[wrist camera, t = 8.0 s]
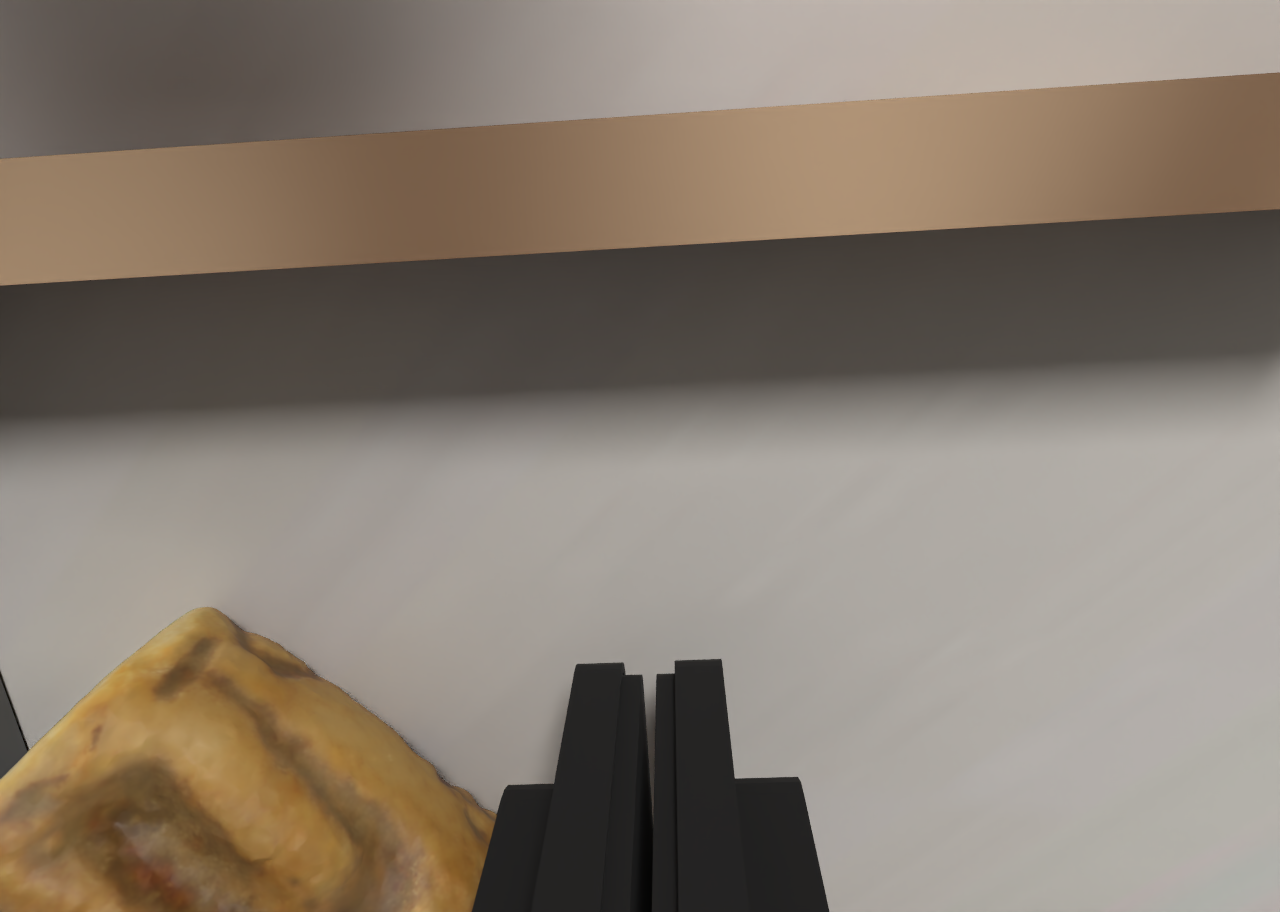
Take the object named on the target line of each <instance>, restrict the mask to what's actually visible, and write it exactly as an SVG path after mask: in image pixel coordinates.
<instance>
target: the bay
mask: <svg viewBox="0 0 1280 912" xmlns="http://www.w3.org/2000/svg"><path fill="white" fill-rule="evenodd" d="M1273 209H1280V73H1266V74H1251V75H1236V76H1222V77H1207V78H1192V79H1177V80H1162V81H1147V82H1133V83H1118V84H1103V85H1088V86H1073V87H1058V88H1044V89H1029V90H1014V91H999V92H984V93H969V94H954V95H940V96H925V97H910V98H895V99H880V100H865V101H851V102H836V103H821V104H806V105H791V106H776V107H762V108H747V109H732V110H717V111H702V112H687V113H672V114H658V115H643V116H628V117H613V118H598V119H583V120H569V121H554V122H539V123H524V124H509V125H494V126H479V127H465V128H450V129H435V130H420V131H405V132H390V133H376V134H361V135H346V136H331V137H316V138H301V139H287V140H272V141H257V142H242V143H227V144H212V145H198V146H183V147H168V148H153V149H138V150H123V151H108V152H94V153H79V154H64V155H49V156H34V157H19V158H5V159H0V285H17V284H34V283H51V282H67V281H84V280H101V279H118V278H134V277H151V276H168V275H185V274H201V273H218V272H235V271H252V270H268V269H285V268H302V267H319V266H335V265H352V264H369V263H386V262H402V261H419V260H436V259H453V258H469V257H486V256H503V255H520V254H536V253H553V252H570V251H587V250H603V249H620V248H637V247H654V246H670V245H687V244H704V243H721V242H737V241H754V240H771V239H788V238H804V237H821V236H838V235H855V234H871V233H888V232H905V231H922V230H938V229H955V228H972V227H989V226H1005V225H1022V224H1039V223H1056V222H1072V221H1089V220H1106V219H1123V218H1139V217H1156V216H1173V215H1190V214H1206V213H1223V212H1240V211H1257V210H1273ZM26 753H27V749H26V747H25V744H24V741H23V738H22V736H21V733H20V730H19V727H18V725H17V722H16V719H15V717H14V714H13V711H12V708H11V706H10V703H9V700H8V698H7V695H6V692H5V689H4V687H3V684H2V681H1V678H0V779H1V778H2V777H3V776H4V775H5V774H6V773H7V772H8V771H9V770H10V769H11V768H12V767H13V766H14V765H15V764H16V763H17V762H18V761H19V760H20V759H21V758H22V757H23V756H24V755H25V754H26Z"/></svg>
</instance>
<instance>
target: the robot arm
mask: <svg viewBox="0 0 1280 912" xmlns="http://www.w3.org/2000/svg"><path fill="white" fill-rule="evenodd" d="M472 912H829V908H828V904H827V899H826V894H825V890H824V885H823V880H822V876H821V871H820V867H819V862H818V857H817V853H816V848H815V844H814V839H813V834H812V830H811V825H810V820H809V816H808V811H807V807H806V802H805V797H804V793H803V789H802V785H801V782H800V780H799V778H798V777H779V778H744V779H735V777H734V768H733V759H732V750H731V741H730V732H729V723H728V713H727V704H726V695H725V686H724V677H723V668H722V660H721V659H710V660H682V661H675V674H657V679H656V728H655V778H654V827H653V817H652V802H651V788H650V773H649V759H648V745H647V730H646V716H645V702H644V687H643V677H642V675H625V667H624V663H597V664H577V665H576V668H575V672H574V677H573V683H572V688H571V694H570V699H569V705H568V710H567V716H566V721H565V727H564V732H563V738H562V743H561V749H560V754H559V760H558V765H557V771H556V776H555V782H554V784H531V785H508V786H507V787H506V789H505V790H504V792H503V795H502V798H501V801H500V805H499V809H498V813H497V816H496V820H495V824H494V828H493V832H492V836H491V839H490V843H489V847H488V851H487V855H486V859H485V863H484V866H483V870H482V874H481V878H480V882H479V886H478V889H477V893H476V897H475V901H474V905H473V909H472Z"/></svg>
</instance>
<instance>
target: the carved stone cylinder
mask: <svg viewBox="0 0 1280 912" xmlns="http://www.w3.org/2000/svg"><path fill="white" fill-rule="evenodd" d="M496 816H497V814H495V813H494V812H492V811H489V810H486V809H483V808H481V807H479V806H478V804H477V803H476V802H475V800H474V798H473V797H472V795H471V794H470V793H469V792H467V791H466V790H464V789H462V788H459V787H456V786H451V785H449V784H448V783H447V782H445V781H444V780H443V779H441V778H440V777H439V776H438V774H437V772H436V769H435V767H434V766H433V765H432V764H431V763H430V762H428V761H427V760H425V759H423V758H421V757H420V756H418V755H417V754H416V753H415V752H414V751H412V750H411V749H410V747H409V746H408V745H407V744H406V743H405V742H404V740H403V739H402V738H401V737H400V736H399V735H398V734H397V732H395V731H394V730H393V729H392V728H391V727H389V726H388V725H387V724H385V723H384V722H383V721H382V720H380V719H379V718H378V717H377V716H375V715H374V714H372V713H371V712H369V711H368V710H366V709H365V708H364V707H363V706H362V705H360V704H359V703H357V702H355V701H354V700H352V699H351V698H350V697H349V695H348V694H346V693H345V692H344V691H342V690H341V689H340V688H339V687H338V686H336V685H334V684H332V683H331V682H329V681H327V680H325V679H323V678H320V677H318V676H316V675H315V674H314V673H313V671H311V670H310V669H309V668H307V666H306V664H305V662H304V661H301V660H300V659H298V658H296V657H294V656H293V655H292V654H291V653H289V652H288V651H286V650H285V649H284V648H283V647H282V646H281V645H280V644H278V643H275V642H273V641H271V640H270V639H268V638H265V637H263V636H260V635H258V634H254V633H249V632H245V631H243V630H242V629H240V628H239V627H238V626H236V625H235V624H234V623H233V622H232V621H231V620H230V619H229V618H228V617H227V616H226V615H224V614H223V613H222V612H220V611H219V610H217V609H215V608H211V607H203V608H197V609H194V610H192V611H189V612H188V613H186V614H185V615H183V616H181V617H180V618H179V619H177V620H176V621H174V622H173V623H172V624H170V625H169V626H168V627H166V628H165V629H163V630H162V631H160V632H159V633H158V634H157V635H156V636H155V637H153V638H152V639H151V640H150V641H149V642H147V643H146V644H145V645H144V646H143V647H141V648H140V649H139V650H138V651H136V652H135V653H134V654H133V655H131V656H130V657H129V658H127V659H126V660H125V661H124V662H122V663H121V664H120V665H119V666H118V667H116V668H115V669H114V670H113V671H112V672H110V673H109V674H108V675H107V676H106V677H105V678H103V679H102V680H101V681H100V682H99V683H98V684H97V685H96V686H95V687H94V688H93V689H92V690H91V691H90V692H89V693H88V694H87V695H86V696H85V697H84V698H82V699H81V700H80V701H79V702H78V703H77V704H76V705H75V706H74V707H73V708H72V709H71V710H70V711H69V712H68V713H67V714H66V715H65V716H64V717H63V718H62V719H61V720H60V721H59V722H58V723H57V724H56V725H55V726H54V727H53V728H52V729H51V730H50V731H49V732H48V733H46V734H45V735H44V736H43V737H42V738H41V739H40V740H39V741H38V742H37V743H36V744H35V745H34V746H33V747H32V748H31V749H30V750H29V751H28V752H27V753H26V754H25V755H24V756H23V757H22V758H21V759H20V760H19V761H18V762H17V763H16V764H15V765H14V766H13V767H12V768H11V769H10V770H9V771H8V772H7V773H6V774H5V775H4V776H3V777H2V778H1V779H0V912H472V909H473V905H474V901H475V897H476V893H477V889H478V886H479V882H480V878H481V874H482V870H483V866H484V863H485V859H486V855H487V851H488V847H489V843H490V839H491V836H492V832H493V828H494V824H495V820H496Z"/></svg>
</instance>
